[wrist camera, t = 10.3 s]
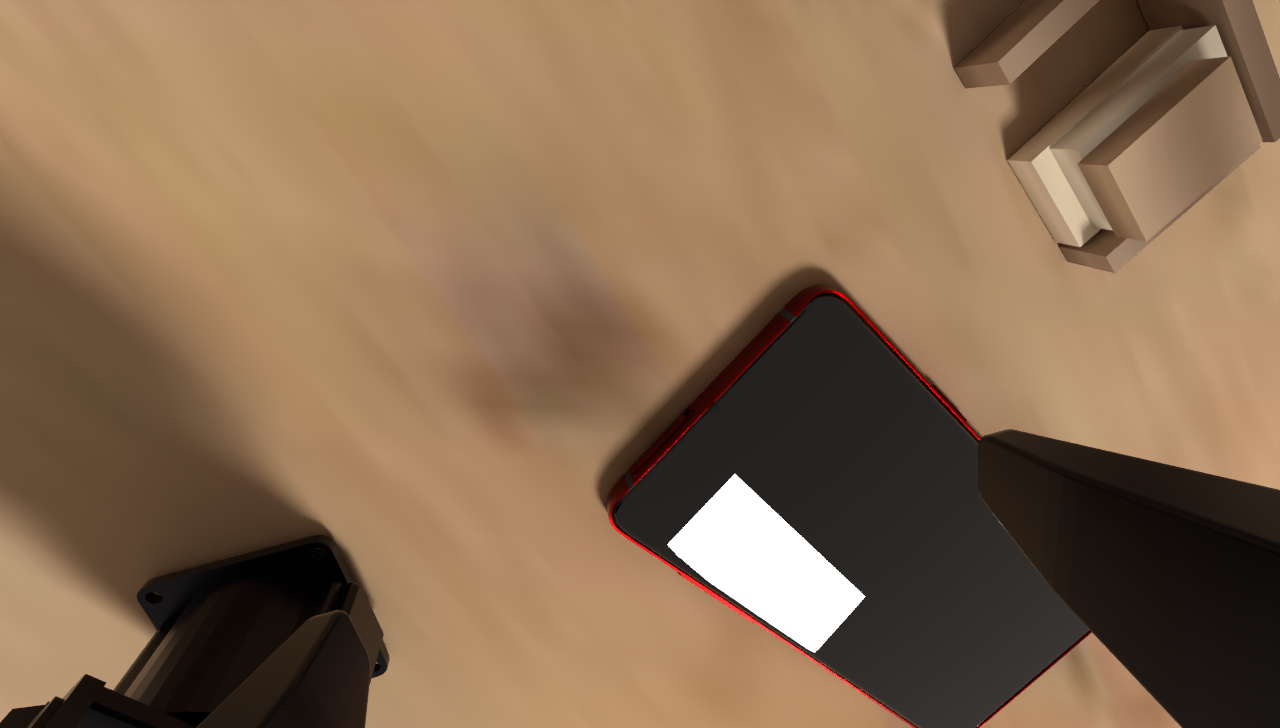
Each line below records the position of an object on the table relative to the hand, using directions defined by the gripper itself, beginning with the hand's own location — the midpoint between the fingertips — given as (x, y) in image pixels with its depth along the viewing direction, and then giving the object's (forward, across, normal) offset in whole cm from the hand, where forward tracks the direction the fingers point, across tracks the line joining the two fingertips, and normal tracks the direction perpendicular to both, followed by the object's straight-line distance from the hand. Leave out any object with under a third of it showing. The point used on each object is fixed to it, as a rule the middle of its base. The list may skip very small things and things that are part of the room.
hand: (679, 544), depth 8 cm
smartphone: (+14, -10, +15) cm, 23 cm away
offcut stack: (+13, -19, -1) cm, 23 cm away
